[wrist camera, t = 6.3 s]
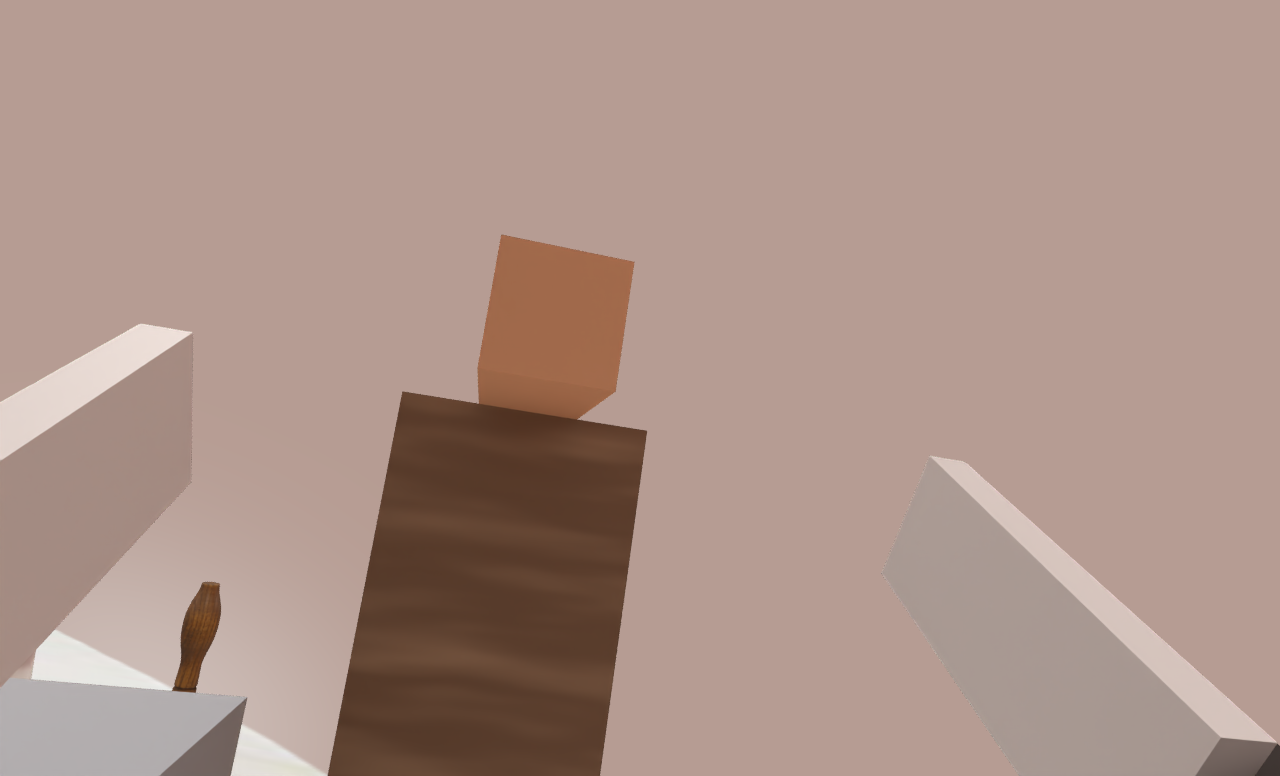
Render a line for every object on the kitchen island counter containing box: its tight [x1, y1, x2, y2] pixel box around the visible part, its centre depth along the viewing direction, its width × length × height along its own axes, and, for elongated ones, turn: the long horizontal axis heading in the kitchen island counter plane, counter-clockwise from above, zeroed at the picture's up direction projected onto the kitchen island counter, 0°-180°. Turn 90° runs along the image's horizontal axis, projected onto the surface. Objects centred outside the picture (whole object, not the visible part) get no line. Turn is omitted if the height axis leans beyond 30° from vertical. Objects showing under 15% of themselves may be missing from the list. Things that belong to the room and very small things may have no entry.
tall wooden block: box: [328, 392, 647, 776], centre depth 34 cm, size 14×10×30 cm
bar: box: [478, 235, 634, 420], centre depth 33 cm, size 24×4×4 cm, turn 12°
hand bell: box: [172, 582, 221, 693], centre depth 59 cm, size 8×8×16 cm
